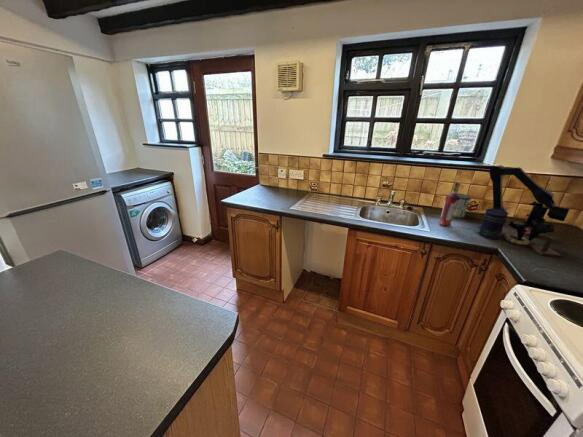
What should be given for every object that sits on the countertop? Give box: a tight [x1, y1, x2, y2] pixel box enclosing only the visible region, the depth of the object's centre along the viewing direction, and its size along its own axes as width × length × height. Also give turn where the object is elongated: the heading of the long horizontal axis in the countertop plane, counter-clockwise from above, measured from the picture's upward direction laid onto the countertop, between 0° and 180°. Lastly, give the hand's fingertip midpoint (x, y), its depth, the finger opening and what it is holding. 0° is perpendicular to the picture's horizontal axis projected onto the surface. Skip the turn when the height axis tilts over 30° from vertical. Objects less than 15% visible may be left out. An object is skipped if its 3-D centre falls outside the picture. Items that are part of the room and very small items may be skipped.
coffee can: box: [453, 192, 472, 218], centre depth 167 cm, size 10×10×14 cm
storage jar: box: [478, 208, 509, 240], centre depth 138 cm, size 10×10×15 cm
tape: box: [503, 233, 531, 246], centre depth 136 cm, size 11×11×2 cm
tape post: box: [527, 236, 562, 258], centre depth 125 cm, size 9×9×8 cm
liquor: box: [438, 181, 461, 227], centre depth 148 cm, size 7×7×28 cm
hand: (524, 240), depth 136 cm, fingers open, 5 cm apart
